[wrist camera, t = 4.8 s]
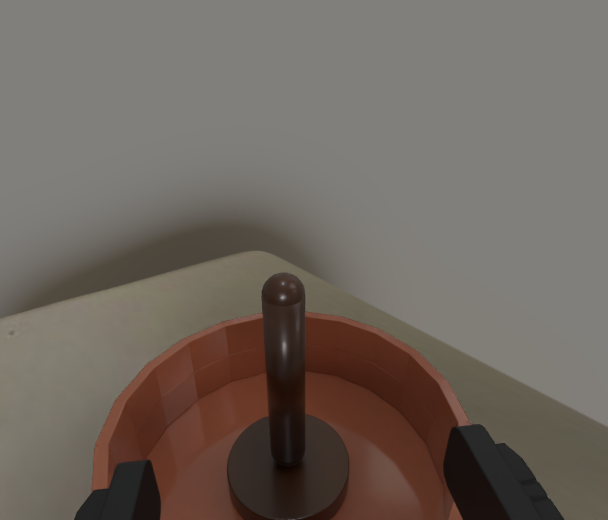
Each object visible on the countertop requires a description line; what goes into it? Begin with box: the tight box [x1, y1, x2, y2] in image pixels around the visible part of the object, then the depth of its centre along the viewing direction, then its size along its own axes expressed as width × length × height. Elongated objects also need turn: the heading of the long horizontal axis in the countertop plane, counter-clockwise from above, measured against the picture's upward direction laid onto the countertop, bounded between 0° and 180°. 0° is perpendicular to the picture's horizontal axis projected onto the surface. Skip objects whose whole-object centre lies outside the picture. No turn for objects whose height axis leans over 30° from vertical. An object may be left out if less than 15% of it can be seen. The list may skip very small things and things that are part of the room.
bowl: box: [92, 312, 471, 520], centre depth 21 cm, size 17×17×6 cm
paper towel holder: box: [227, 273, 349, 520], centre depth 19 cm, size 6×6×12 cm
